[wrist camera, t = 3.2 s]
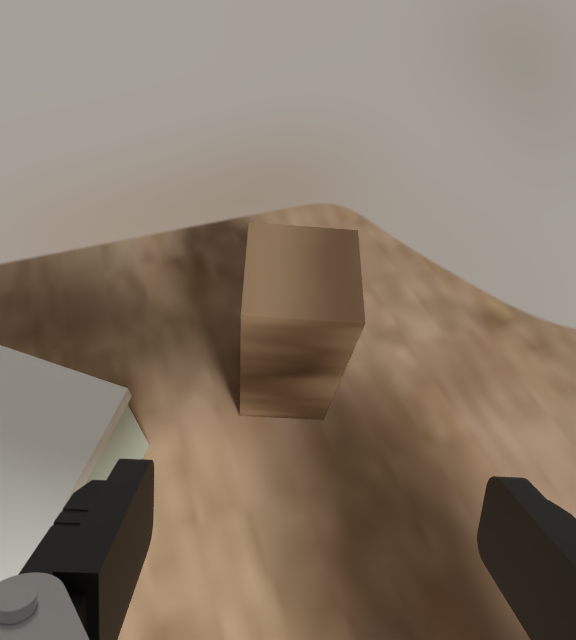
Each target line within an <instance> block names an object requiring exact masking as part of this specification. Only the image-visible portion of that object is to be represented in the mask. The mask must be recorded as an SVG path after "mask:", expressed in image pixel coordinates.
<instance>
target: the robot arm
mask: <svg viewBox="0 0 576 640" xmlns="http://www.w3.org/2000/svg"><path fill="white" fill-rule="evenodd" d="M153 507H154V463H153V460H143V459H119V460H118V461H117V463H116V465H115V466H114V468H113V470H112V471H111V473H110V475H109V476H108V478H107V480H91V481H90V482H88V483H87V484H85V485H84V486H83V487H81V488H80V489H78V490H77V491H75V492H74V493H73V494H72V496H71V497H70V499H69V500H68V502H67V503H66V505H65V506H64V508H63V511H62V512H60V514H59V515H58V517H57V518H56V520H55V521H54V524H53V526H51V527H50V528H49V530H48V531H47V533H46V534H45V536H44V537H43V539H42V540H41V542H40V543H39V545H38V546H37V548H36V549H35V551H34V552H33V553H32V555H31V556H30V558H29V559H28V561H27V562H26V564H25V565H24V567H23V568H22V570H21V571H20V573H19V574H18V575H15V576H12V577H9V578H7V579H4V580H2V581H0V640H117V639H118V636H119V633H120V630H121V627H122V624H123V622H124V619H125V616H126V613H127V610H128V607H129V604H130V601H131V598H132V595H133V592H134V590H135V587H136V584H137V581H138V578H139V575H140V572H141V569H142V566H143V563H144V561H145V558H146V555H147V552H148V549H149V545H150V541H151V536H152V529H153ZM477 542H478V549H479V553H480V557H481V559H482V561H483V563H484V565H485V566H486V568H487V569H488V571H489V573H490V574H491V576H492V578H493V579H494V581H495V582H496V584H497V586H498V587H499V589H500V591H501V592H502V594H503V595H504V597H505V599H506V600H507V602H508V604H509V605H510V607H511V608H512V610H513V612H514V613H515V615H516V617H517V618H518V620H519V621H520V623H521V625H522V626H523V628H524V630H525V631H526V633H527V634H528V636H529V638H530V639H531V640H576V519H575V518H574V517H573V516H572V515H571V514H570V513H568V512H567V511H565V510H564V509H562V508H560V507H559V506H557V505H556V504H554V503H553V502H551V501H549V500H547V499H546V498H545V497H544V496H543V495H542V494H541V493H540V492H539V491H538V490H537V489H536V488H535V487H534V486H533V485H532V484H531V483H530V482H529V481H528V480H527V479H525V478H516V477H495V476H494V477H491V478H490V479H489V481H488V483H487V486H486V491H485V496H484V502H483V507H482V512H481V517H480V522H479V528H478V534H477Z"/></svg>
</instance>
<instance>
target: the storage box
mask: <svg viewBox="0 0 576 640" xmlns="http://www.w3.org/2000/svg"><path fill="white" fill-rule="evenodd" d="M131 397H132V396H131V394H130V391H129V389H128V388H125V387H122V386H119V385H117V384H114V383H111V382H108V381H105V380H102V379H99V378H96V377H93V376H90V375H87V374H84V373H81V372H78V371H75V370H72V369H69V368H66V367H63V366H60V365H57V364H55V363H52V362H49V361H46V360H43V359H40V358H37V357H34V356H31V355H28V354H25V353H22V352H19V351H16V350H13V349H10V348H7V347H4V346H1V345H0V581H2V580H4V579H7V578H9V577H12V576H15V575H18V574H19V573H20V571H21V570H22V568H23V567H24V565H25V564H26V562H27V561H28V559H29V558H30V556H31V555H32V553H33V552H34V551H35V549H36V548H37V546H38V545H39V543H40V542H41V540H42V539H43V537H44V536H45V534H46V533H47V531H48V530H49V528H50V527H51V526H53V524H54V521H55V520H56V518H57V517H58V515H59V514H60V512H62V511H63V508H64V506H65V505H66V503H67V502H68V500H69V499H70V497H71V496H72V494H73V493H74V492H75V491H77V490H78V489H80V488H81V487H83V486H84V485H85V484H87V483H88V482H90V481H91V480H107V478H108V476H109V475H110V473H111V471H112V470H113V468H114V466H115V465H116V463H117V461H118V460H119V459H142V458H143V456H144V454H145V452H146V450H147V448H148V446H149V444H148V442H147V440H146V438H145V436H144V434H143V432H142V431H141V429H140V427H139V425H138V423H137V421H136V419H135V417H134V415H133V414H132V412H131V410H130V408H129V406H128V403H129V401H130V399H131Z"/></svg>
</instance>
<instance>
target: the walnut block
mask: <svg viewBox="0 0 576 640" xmlns="http://www.w3.org/2000/svg"><path fill="white" fill-rule="evenodd" d="M364 325H365V314H364V301H363V289H362V276H361V263H360V251H359V238H358V230H345V229H332V228H319V227H306V226H293V225H280V224H266V223H253V222H249V224H248V236H247V247H246V259H245V271H244V283H243V294H242V306H241V339H240V416H258V417H279V418H299V419H319V420H323V419H324V417H325V415H326V412H327V410H328V408H329V406H330V403H331V401H332V399H333V396H334V394H335V392H336V389H337V387H338V385H339V383H340V380H341V378H342V376H343V373H344V371H345V369H346V366H347V364H348V362H349V360H350V357H351V355H352V353H353V350H354V348H355V346H356V343H357V341H358V339H359V337H360V334H361V332H362V330H363V327H364Z"/></svg>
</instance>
